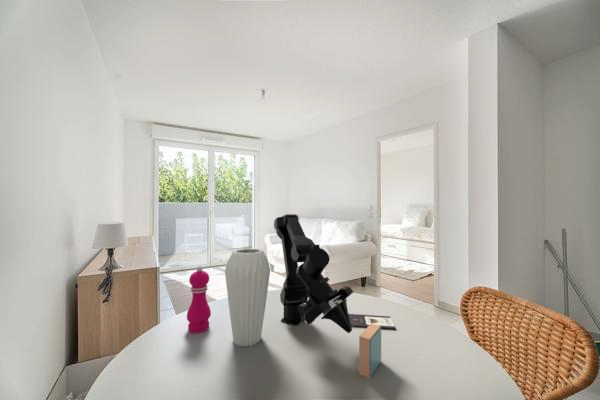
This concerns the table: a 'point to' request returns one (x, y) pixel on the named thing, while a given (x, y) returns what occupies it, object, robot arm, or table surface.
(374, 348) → the block
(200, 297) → the pepper mill
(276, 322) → the table surface
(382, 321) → the chocolate bar
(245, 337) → the vase
